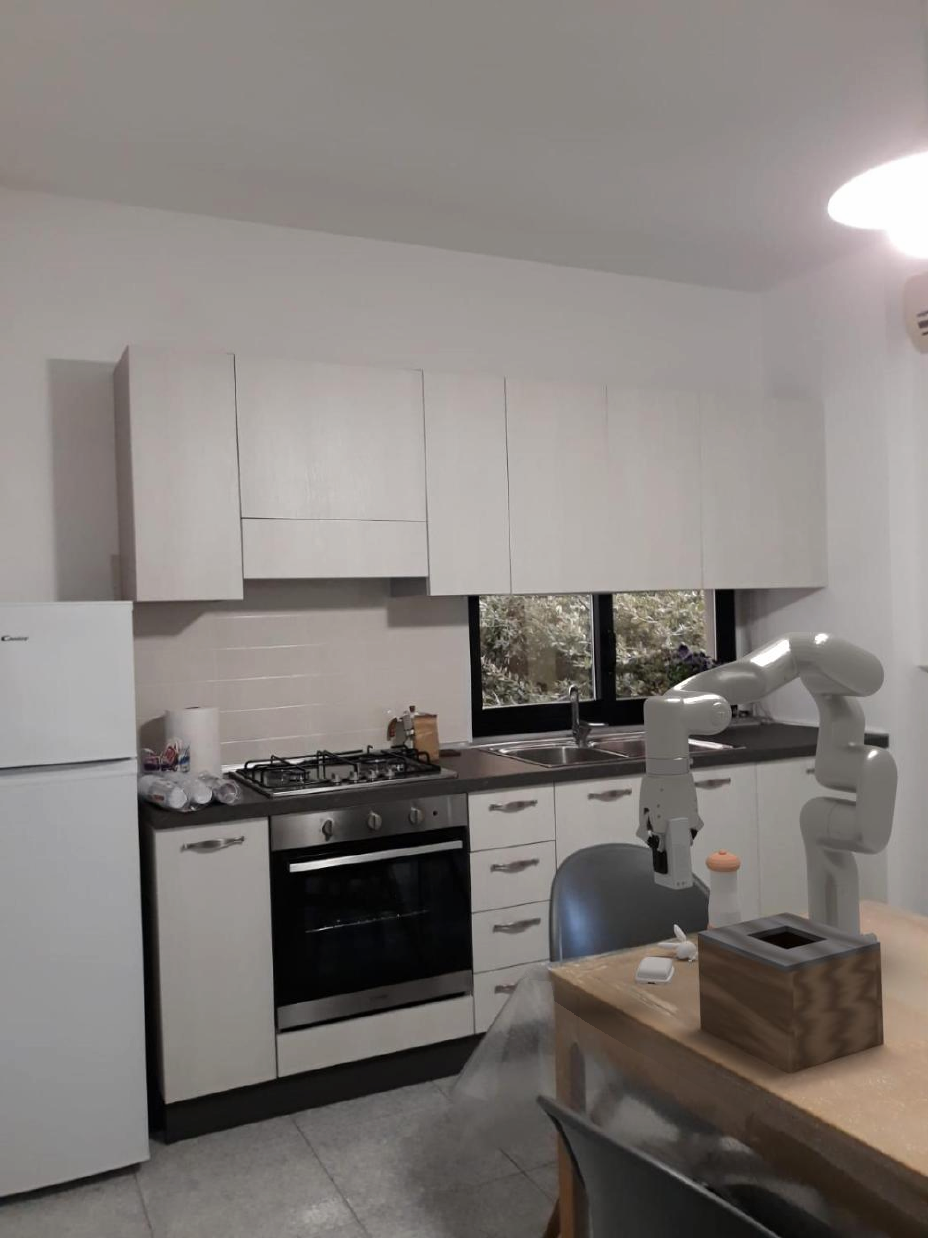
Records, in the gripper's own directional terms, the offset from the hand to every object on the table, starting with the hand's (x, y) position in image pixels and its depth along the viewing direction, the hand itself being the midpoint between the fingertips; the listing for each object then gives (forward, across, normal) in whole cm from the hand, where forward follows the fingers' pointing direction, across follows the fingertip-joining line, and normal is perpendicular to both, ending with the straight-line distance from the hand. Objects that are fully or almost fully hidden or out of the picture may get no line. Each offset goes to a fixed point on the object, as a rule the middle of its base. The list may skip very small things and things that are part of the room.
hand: (672, 869), depth 184 cm
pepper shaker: (+24, -31, -22) cm, 45 cm away
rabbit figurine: (+24, -17, -20) cm, 36 cm away
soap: (+25, -6, -14) cm, 29 cm away
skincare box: (+3, 0, 0) cm, 3 cm away
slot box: (+24, -7, +20) cm, 32 cm away
